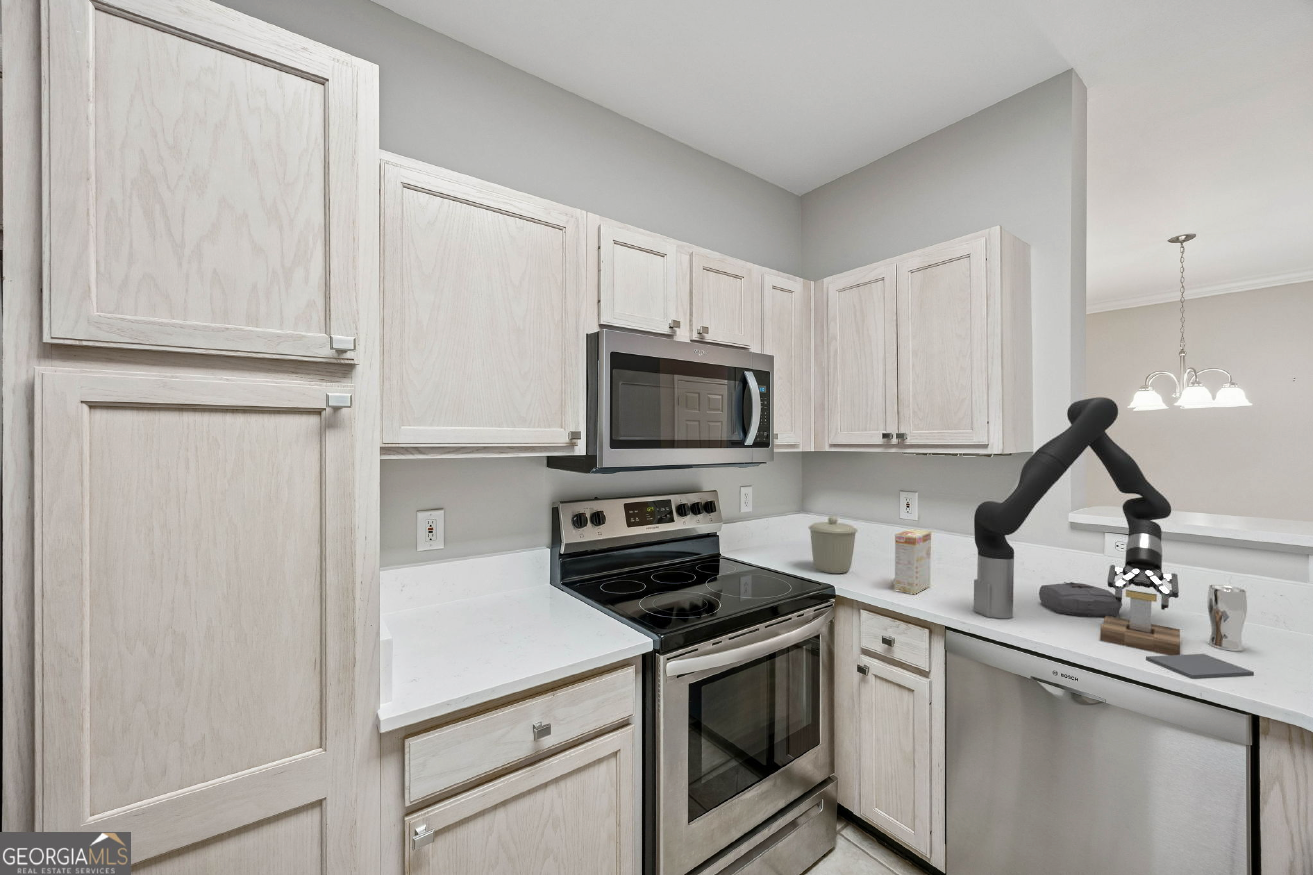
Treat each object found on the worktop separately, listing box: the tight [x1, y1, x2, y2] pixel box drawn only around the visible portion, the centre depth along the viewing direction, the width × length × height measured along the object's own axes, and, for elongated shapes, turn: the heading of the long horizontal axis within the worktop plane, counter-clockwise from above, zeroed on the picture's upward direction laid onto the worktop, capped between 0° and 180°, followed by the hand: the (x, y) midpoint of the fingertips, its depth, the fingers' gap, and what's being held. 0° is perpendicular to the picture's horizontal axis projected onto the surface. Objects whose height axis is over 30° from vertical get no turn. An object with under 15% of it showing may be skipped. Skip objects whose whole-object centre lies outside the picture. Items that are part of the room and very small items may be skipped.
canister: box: [808, 515, 859, 574], centre depth 212 cm, size 18×18×21 cm
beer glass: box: [1206, 584, 1248, 653], centre depth 139 cm, size 7×7×15 cm
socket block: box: [1099, 616, 1181, 656], centre depth 143 cm, size 15×15×3 cm
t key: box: [1125, 589, 1158, 634], centre depth 143 cm, size 6×4×13 cm, turn 46°
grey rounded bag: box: [1038, 581, 1123, 618], centre depth 167 cm, size 15×8×20 cm
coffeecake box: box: [894, 528, 932, 595], centre depth 188 cm, size 15×7×20 cm, turn 134°
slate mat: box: [1145, 653, 1255, 680], centre depth 126 cm, size 16×10×1 cm, turn 97°
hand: (1141, 604), depth 144 cm, fingers open, 8 cm apart
